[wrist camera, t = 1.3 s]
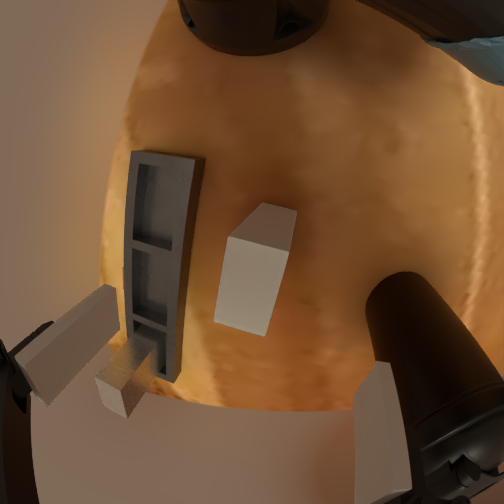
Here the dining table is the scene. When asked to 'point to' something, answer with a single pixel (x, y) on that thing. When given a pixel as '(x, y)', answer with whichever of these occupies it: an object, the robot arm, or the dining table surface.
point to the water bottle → (440, 385)
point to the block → (254, 268)
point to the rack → (153, 275)
